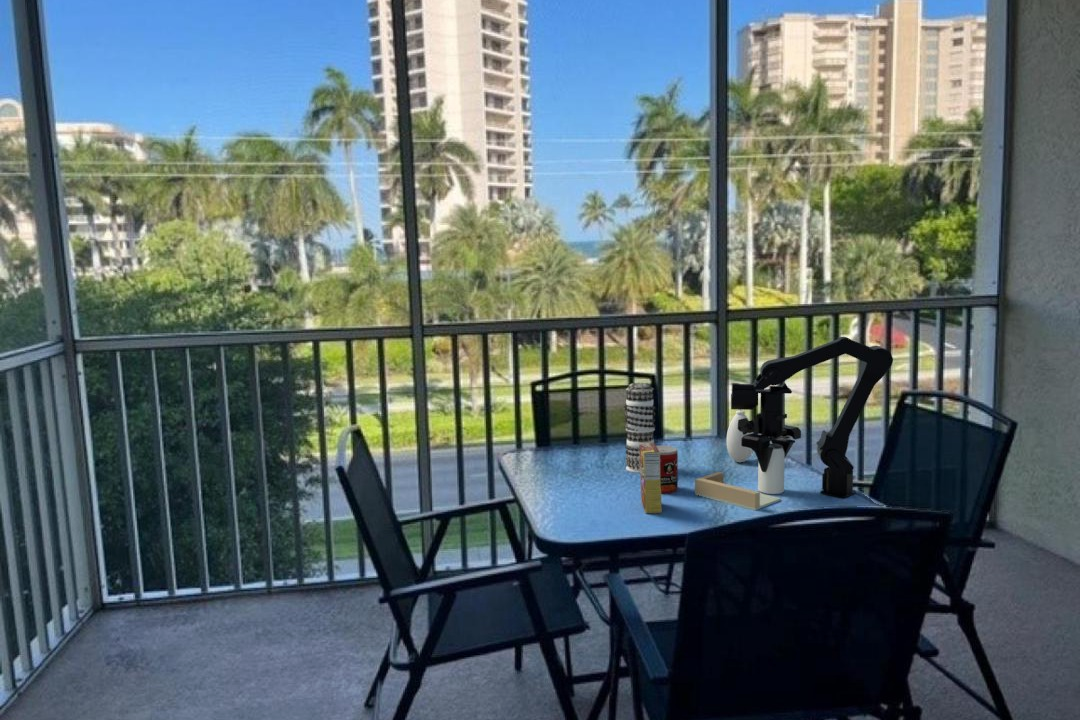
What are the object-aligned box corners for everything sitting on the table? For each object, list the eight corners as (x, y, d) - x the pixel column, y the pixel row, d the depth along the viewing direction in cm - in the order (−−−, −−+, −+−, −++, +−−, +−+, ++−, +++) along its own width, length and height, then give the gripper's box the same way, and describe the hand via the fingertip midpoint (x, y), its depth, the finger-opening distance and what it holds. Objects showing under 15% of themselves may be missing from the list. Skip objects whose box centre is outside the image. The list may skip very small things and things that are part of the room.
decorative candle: (621, 472, 226) (620, 386, 223) (628, 463, 234) (627, 381, 231) (653, 474, 223) (652, 387, 220) (658, 465, 232) (658, 381, 228)
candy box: (639, 502, 197) (638, 443, 195) (656, 502, 197) (656, 442, 195) (643, 514, 189) (643, 451, 187) (661, 513, 188) (661, 451, 187)
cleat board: (780, 500, 196) (780, 484, 195) (754, 510, 189) (755, 493, 188) (721, 486, 210) (721, 471, 209) (695, 494, 202) (695, 479, 202)
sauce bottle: (754, 465, 229) (755, 404, 227) (727, 465, 230) (727, 404, 228) (752, 458, 236) (752, 399, 234) (725, 458, 238) (725, 399, 235)
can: (755, 493, 202) (756, 447, 201) (761, 486, 208) (761, 442, 207) (781, 496, 199) (782, 450, 198) (786, 489, 205) (787, 444, 204)
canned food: (655, 495, 203) (655, 453, 202) (643, 486, 211) (643, 446, 209) (683, 492, 205) (682, 450, 204) (670, 483, 213) (669, 444, 211)
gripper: (765, 401, 213) (764, 457, 215) (723, 411, 201) (723, 470, 203) (802, 406, 205) (801, 464, 207) (761, 417, 193) (760, 479, 195)
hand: (771, 469), depth 203 cm, fingers closed on can, 6 cm apart
